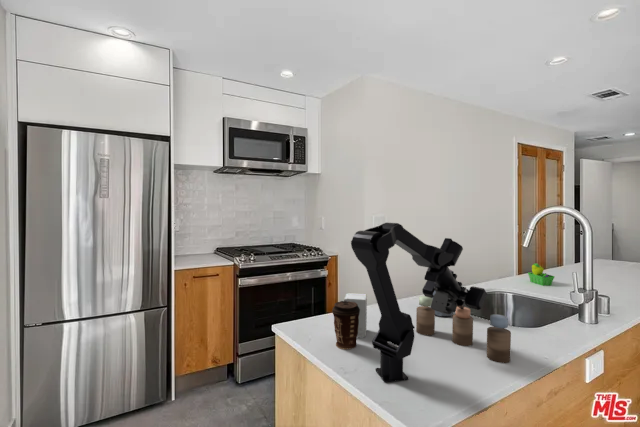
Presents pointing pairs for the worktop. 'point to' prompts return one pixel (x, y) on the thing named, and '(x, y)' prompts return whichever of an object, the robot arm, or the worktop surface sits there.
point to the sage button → (425, 301)
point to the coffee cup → (346, 324)
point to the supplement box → (362, 304)
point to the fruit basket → (540, 276)
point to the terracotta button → (462, 312)
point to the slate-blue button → (499, 321)
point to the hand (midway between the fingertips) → (462, 307)
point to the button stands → (467, 334)
